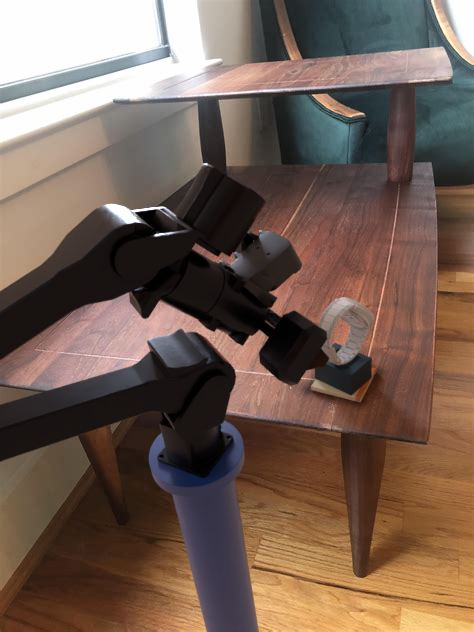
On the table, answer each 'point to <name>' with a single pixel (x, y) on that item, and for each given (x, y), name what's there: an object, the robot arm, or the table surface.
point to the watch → (346, 346)
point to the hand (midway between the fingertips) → (301, 342)
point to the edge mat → (333, 391)
